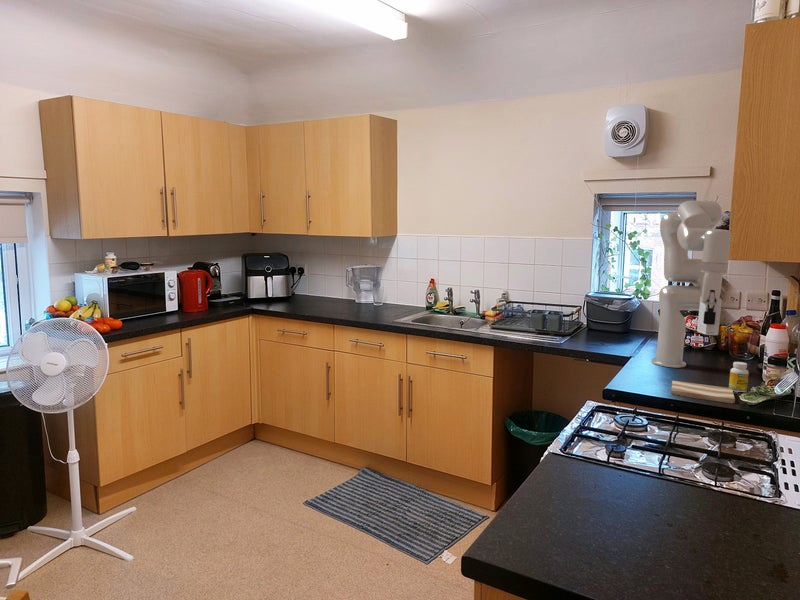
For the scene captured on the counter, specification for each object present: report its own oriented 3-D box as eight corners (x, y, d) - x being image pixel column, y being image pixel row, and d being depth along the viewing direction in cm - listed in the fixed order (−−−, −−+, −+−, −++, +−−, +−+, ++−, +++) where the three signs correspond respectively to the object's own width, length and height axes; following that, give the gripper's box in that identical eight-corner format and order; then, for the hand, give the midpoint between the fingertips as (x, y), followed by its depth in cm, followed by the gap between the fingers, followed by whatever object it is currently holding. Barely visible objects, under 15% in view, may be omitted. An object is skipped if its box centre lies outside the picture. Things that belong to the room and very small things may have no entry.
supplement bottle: (739, 388, 201) (742, 361, 200) (750, 393, 196) (753, 365, 194) (724, 388, 200) (727, 361, 199) (735, 393, 195) (738, 365, 194)
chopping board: (671, 384, 203) (672, 380, 203) (731, 392, 195) (731, 388, 195) (670, 394, 190) (671, 390, 190) (734, 403, 183) (734, 399, 182)
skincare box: (718, 335, 189) (722, 298, 187) (705, 335, 189) (709, 298, 188) (709, 332, 195) (713, 296, 193) (696, 331, 195) (700, 295, 194)
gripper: (700, 265, 199) (695, 317, 201) (701, 269, 183) (695, 325, 185) (725, 267, 195) (720, 320, 198) (729, 270, 180) (722, 327, 182)
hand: (708, 322), depth 192 cm, fingers closed on skincare box, 7 cm apart
